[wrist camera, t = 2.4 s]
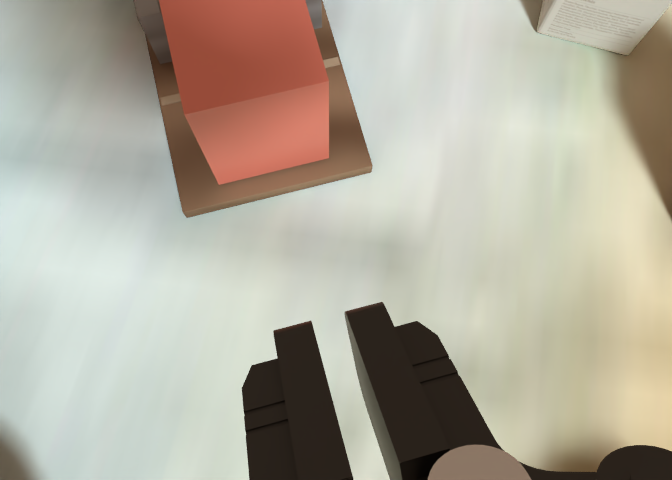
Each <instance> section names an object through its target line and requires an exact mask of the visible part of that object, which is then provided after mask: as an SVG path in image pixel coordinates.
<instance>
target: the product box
mask: <svg viewBox="0 0 672 480" xmlns="http://www.w3.org/2000/svg"><path fill="white" fill-rule="evenodd" d="M671 4H672V0H543V3H542V7H541V12H540V16H539V21H538V26H537V32H538V33H541V34H545V35H549V36H552V37H556V38H560V39H564V40H568V41H572V42H576V43H580V44H584V45H588V46H592V47H596V48H600V49H603V50H607V51H611V52H615V53H619V54H624V55H629V54H630V53H631V52H632V50H633V49H634V48H635V47H636V46H637V45H638V43H639V42H640V41H641V40H642V39H643V37H644V36H645V35H646V34H647V33H648V31H649V30H650V29H651V28H652V27H653V25H654V24H655V23H656V22H657V21H658V19H659V18H660V17H661V16H662V15H663V13H664V12H665V11H666V10H667V9H668V8H669V6H670V5H671Z"/></svg>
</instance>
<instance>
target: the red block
mask: <svg viewBox="0 0 672 480" xmlns="http://www.w3.org/2000/svg"><path fill="white" fill-rule="evenodd" d="M159 3H160V8H161V12H162V17H163V21H164V26H165V30H166V35H167V39H168V44H169V48H170V53H171V57H172V62H173V66H174V71H175V75H176V80H177V84H178V89H179V93H180V98H181V102H182V107H183V111H184V115H185V117H186V119H187V121H188V123H189V125H190V127H191V129H192V131H193V133H194V135H195V137H196V140H197V142H198V144H199V146H200V148H201V150H202V152H203V154H204V156H205V158H206V160H207V162H208V164H209V166H210V168H211V170H212V172H213V174H214V176H215V178H216V180H217V182H218V184H219V185H221V184H225V183H229V182H233V181H237V180H241V179H245V178H250V177H254V176H258V175H262V174H266V173H270V172H274V171H278V170H282V169H286V168H291V167H295V166H299V165H303V164H307V163H311V162H315V161H319V160H323V159H327V158H329V79H328V76H327V72H326V69H325V66H324V62H323V59H322V55H321V52H320V49H319V45H318V42H317V39H316V35H315V32H314V28H313V25H312V22H311V18H310V15H309V11H308V8H307V5H306V1H305V0H159Z"/></svg>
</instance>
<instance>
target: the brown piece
mask: <svg viewBox="0 0 672 480" xmlns="http://www.w3.org/2000/svg"><path fill="white" fill-rule="evenodd" d="M305 1H306V5H307V8H308V11H309V15H310V18H311V22H312V25H313V28H314V32H315V35H316V39H317V42H318V45H319V49H320V52H321V55H322V59H323V62H324V66H325V69H326V72H327V76H328V79H329V158H327V159H323V160H319V161H315V162H311V163H307V164H303V165H299V166H295V167H291V168H286V169H282V170H278V171H274V172H270V173H266V174H262V175H258V176H254V177H250V178H245V179H241V180H237V181H233V182H229V183H225V184H221V185H219V184H218V182H217V180H216V178H215V176H214V174H213V172H212V170H211V168H210V166H209V164H208V162H207V160H206V158H205V156H204V154H203V152H202V150H201V148H200V146H199V144H198V142H197V140H196V137H195V135H194V133H193V131H192V129H191V127H190V125H189V123H188V121H187V119H186V117H185V115H184V111H183V107H182V102H181V98H180V93H179V89H178V84H177V80H176V75H175V71H174V66H173V62H172V57H171V53H170V48H169V44H168V39H167V35H166V30H165V26H164V21H163V17H162V12H161V8H160V3H159V0H134V4H135V8H136V13H137V18H138V20H139V22H140V24H141V26H142V28H143V30H144V32H145V35H146V40H147V45H148V50H149V54H150V59H151V64H152V68H153V73H154V78H155V83H156V87H157V92H158V97H159V102H160V106H161V111H162V116H163V121H164V125H165V130H166V135H167V140H168V144H169V149H170V154H171V159H172V163H173V168H174V173H175V177H176V182H177V187H178V192H179V196H180V201H181V206H182V211H183V213H184V215H185V216H186V217H187V218H188V217H192V216H196V215H200V214H204V213H208V212H212V211H216V210H220V209H224V208H229V207H233V206H237V205H241V204H245V203H249V202H253V201H257V200H261V199H265V198H269V197H273V196H277V195H281V194H285V193H289V192H293V191H297V190H301V189H305V188H309V187H314V186H318V185H322V184H326V183H330V182H334V181H338V180H342V179H346V178H350V177H354V176H358V175H362V174H366V173H370V172H371V171H372V163H371V159H370V156H369V153H368V149H367V146H366V143H365V140H364V136H363V133H362V130H361V126H360V123H359V120H358V117H357V113H356V110H355V107H354V103H353V100H352V97H351V93H350V90H349V87H348V84H347V80H346V77H345V74H344V70H343V67H342V64H341V61H340V57H339V54H338V51H337V47H336V44H335V41H334V37H333V34H332V31H331V28H330V24H329V21H328V18H327V14H326V11H325V8H324V5H323V1H322V0H305Z"/></svg>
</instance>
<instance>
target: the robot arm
mask: <svg viewBox="0 0 672 480" xmlns="http://www.w3.org/2000/svg"><path fill="white" fill-rule="evenodd" d="M345 319H346V324H347V328H348V333H349V338H350V342H351V347H352V352H353V356H354V361H355V366H356V370H357V375H358V379H359V383H360V387H361V391H362V394H363V398H364V401H365V404H366V408H367V411H368V414H369V417H370V420H371V423H372V426H373V429H374V432H375V435H376V438H377V441H378V444H379V447H380V450H381V453H382V456H383V459H384V462H385V465H386V468H387V471H388V474H389V477H390V480H672V451H669V450H666V449H663V448H659V447H655V446H647V445H634V446H627V447H623V448H620V449H617V450H615V451H613V452H611V453H610V454H609V455H608V456H606V457H605V458H604V459H603V461H602V462H601V463H600V465H599V467H598V470H597V472H555V471H545V470H540V469H536V468H533V467H530V466H527V465H525V464H523V463H521V462H519V461H517V460H516V459H515V458H514V457H513V456H511V455H510V454H508V453H506V452H505V451H504V450H503V449H502V448H501V447H500V446H499V445H498V443H497V442H496V440H495V439H494V437H493V435H492V434H491V432H490V430H489V428H488V426H487V424H486V423H485V421H484V419H483V417H482V415H481V414H480V412H479V410H478V408H477V406H476V404H475V403H474V401H473V399H472V397H471V395H470V394H469V392H468V390H467V388H466V386H465V384H464V383H463V381H462V379H461V377H460V376H459V375H458V372H457V370H456V368H455V366H454V365H453V363H452V361H451V359H449V356H448V354H447V352H446V350H445V348H444V346H443V345H442V343H441V341H440V339H439V337H438V335H436V334H435V333H433V332H432V331H431V330H429V329H428V328H426V327H425V326H423V325H422V324H421V323H419V322H418V321H415V322H411V323H408V324H404V325H400V326H397V327H394V325H393V323H392V321H391V318H390V316H389V314H388V312H387V310H386V308H385V306H384V304H383V302H380V303H376V304H372V305H368V306H365V307H361V308H357V309H353V310H349V311H346V312H345ZM274 339H275V345H276V351H277V356H278V359H274V360H270V361H267V362H263V363H259V364H255V365H252V366H251V368H250V371H249V373H248V375H247V378H246V380H245V382H244V385H243V387H242V395H243V407H244V414H245V416H244V419H245V431H246V443H247V455H248V467H249V478H250V480H353V476H352V473H351V469H350V465H349V461H348V457H347V454H346V450H345V446H344V442H343V439H342V435H341V431H340V427H339V424H338V420H337V416H336V412H335V408H334V405H333V401H332V397H331V393H330V390H329V386H328V382H327V378H326V374H325V371H324V367H323V363H322V359H321V356H320V352H319V348H318V344H317V341H316V337H315V333H314V329H313V325H312V322H311V321H308V322H304V323H301V324H297V325H293V326H289V327H286V328H282V329H278V330H274Z"/></svg>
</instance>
